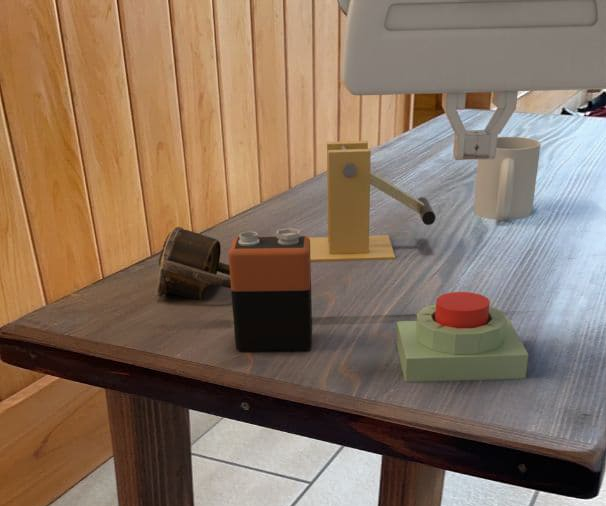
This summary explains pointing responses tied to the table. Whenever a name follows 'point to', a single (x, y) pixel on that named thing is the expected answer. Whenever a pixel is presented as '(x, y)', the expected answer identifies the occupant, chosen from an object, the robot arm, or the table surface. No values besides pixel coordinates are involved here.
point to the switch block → (460, 349)
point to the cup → (507, 180)
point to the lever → (403, 197)
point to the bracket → (349, 209)
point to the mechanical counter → (190, 264)
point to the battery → (271, 291)
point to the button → (462, 310)
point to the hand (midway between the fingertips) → (473, 158)
